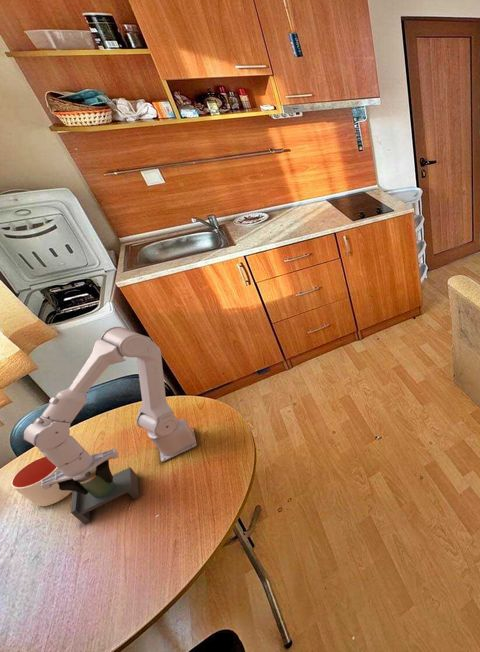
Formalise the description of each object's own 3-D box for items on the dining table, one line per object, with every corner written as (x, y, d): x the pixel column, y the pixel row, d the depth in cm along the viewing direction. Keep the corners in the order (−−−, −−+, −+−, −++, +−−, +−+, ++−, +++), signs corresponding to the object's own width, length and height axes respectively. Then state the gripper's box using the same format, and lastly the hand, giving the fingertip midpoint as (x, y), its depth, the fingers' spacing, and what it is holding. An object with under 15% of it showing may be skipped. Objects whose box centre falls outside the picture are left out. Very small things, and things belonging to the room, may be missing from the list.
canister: (114, 478, 105) (97, 460, 101) (114, 491, 102) (97, 473, 98) (92, 488, 103) (74, 471, 98) (92, 502, 100) (73, 484, 95)
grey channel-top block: (137, 475, 111) (127, 464, 107) (139, 496, 106) (128, 484, 102) (85, 500, 105) (72, 489, 101) (83, 524, 99) (70, 512, 96)
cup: (54, 511, 102) (30, 491, 97) (25, 505, 104) (0, 485, 98) (90, 477, 111) (70, 457, 105) (63, 472, 112) (42, 452, 106)
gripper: (26, 485, 87) (62, 514, 95) (105, 450, 95) (132, 480, 102) (31, 463, 92) (64, 493, 100) (105, 432, 100) (131, 462, 107)
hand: (99, 485), depth 101 cm, fingers closed on canister, 4 cm apart
